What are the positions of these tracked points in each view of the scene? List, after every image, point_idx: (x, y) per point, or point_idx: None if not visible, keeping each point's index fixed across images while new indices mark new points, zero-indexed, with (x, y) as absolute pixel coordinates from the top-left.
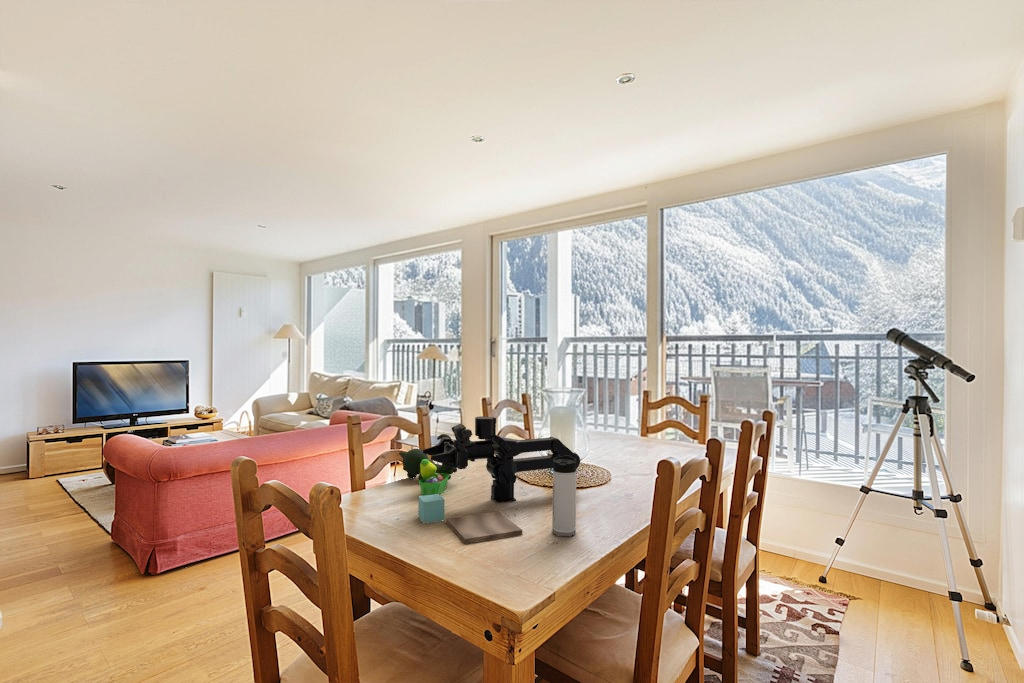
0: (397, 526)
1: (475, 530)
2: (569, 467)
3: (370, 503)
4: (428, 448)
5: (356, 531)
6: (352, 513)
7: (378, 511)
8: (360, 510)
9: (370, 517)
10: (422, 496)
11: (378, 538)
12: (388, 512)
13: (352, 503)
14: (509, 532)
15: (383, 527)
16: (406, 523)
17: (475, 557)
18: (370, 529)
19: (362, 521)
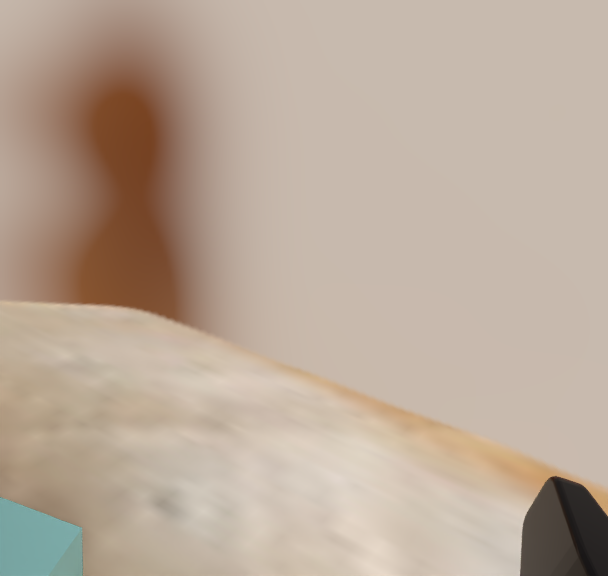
0: (67, 443)
1: None
2: None
3: None
4: (592, 569)
5: (176, 329)
6: (399, 409)
7: (362, 498)
8: (426, 449)
9: (295, 429)
10: (42, 548)
11: (31, 334)
12: (311, 527)
13: (559, 475)
14: None
15: (120, 400)
16: (56, 496)
17: None
18: (149, 362)
19: (267, 387)
